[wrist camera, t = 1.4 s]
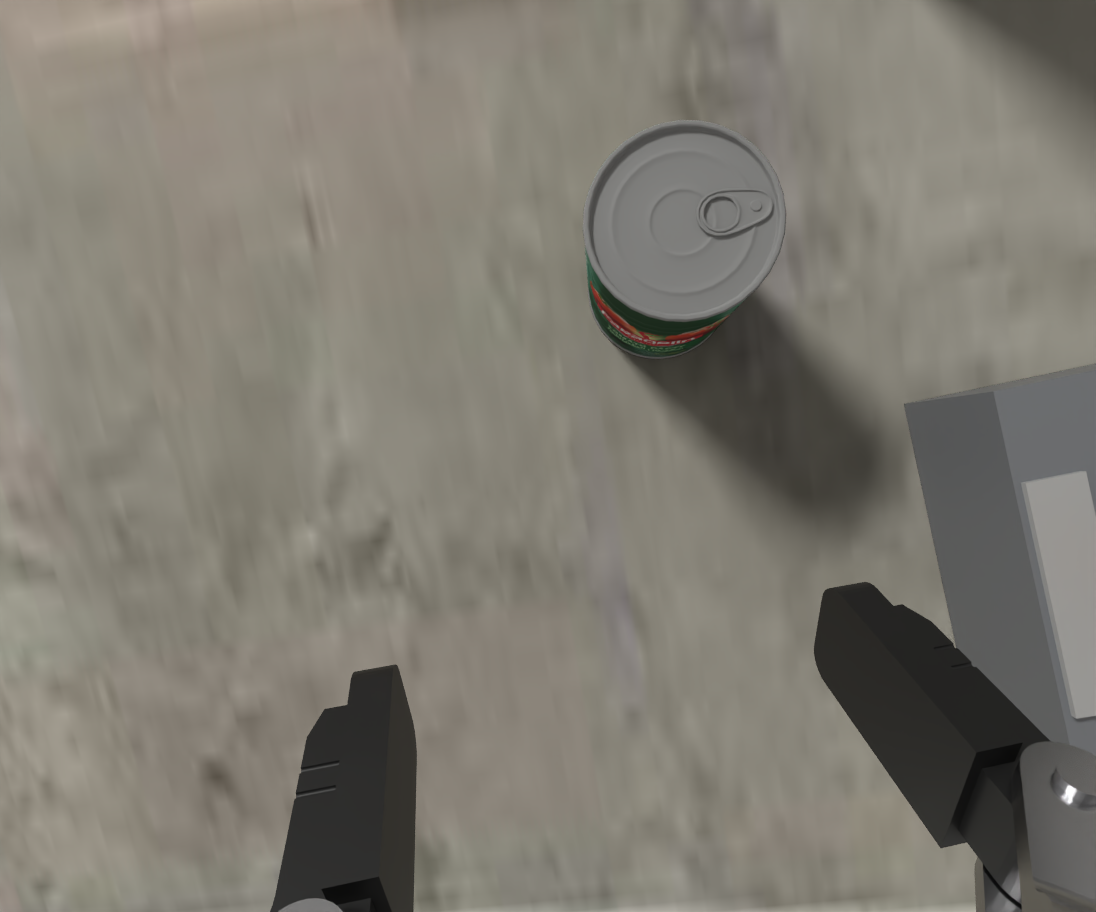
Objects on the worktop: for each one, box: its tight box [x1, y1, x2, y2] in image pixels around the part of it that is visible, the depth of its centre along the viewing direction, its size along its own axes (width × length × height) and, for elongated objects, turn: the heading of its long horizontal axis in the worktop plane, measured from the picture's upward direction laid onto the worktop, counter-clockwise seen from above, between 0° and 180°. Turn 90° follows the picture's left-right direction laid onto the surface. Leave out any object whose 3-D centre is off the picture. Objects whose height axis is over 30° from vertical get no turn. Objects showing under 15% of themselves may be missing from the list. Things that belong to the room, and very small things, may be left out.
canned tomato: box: [583, 120, 786, 359], centre depth 30 cm, size 8×8×11 cm
